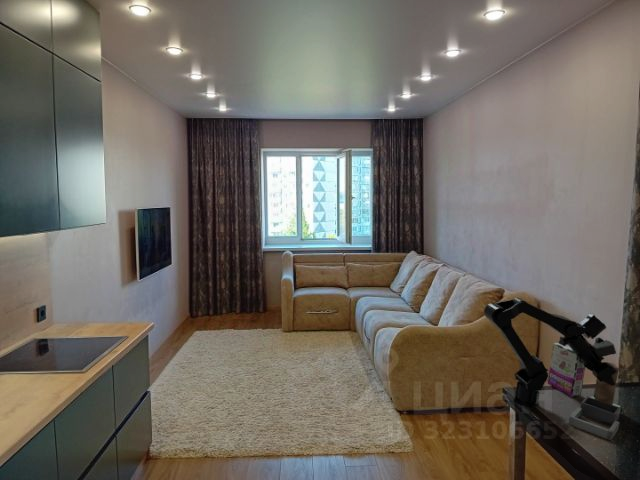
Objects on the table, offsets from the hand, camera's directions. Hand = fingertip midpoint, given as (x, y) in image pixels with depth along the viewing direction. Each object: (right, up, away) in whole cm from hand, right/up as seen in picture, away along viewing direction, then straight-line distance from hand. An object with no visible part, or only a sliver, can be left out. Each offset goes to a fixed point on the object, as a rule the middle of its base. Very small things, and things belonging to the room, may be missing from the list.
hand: (610, 381), depth 161 cm
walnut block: (-2, -7, +1) cm, 7 cm away
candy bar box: (-9, -7, +14) cm, 18 cm away
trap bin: (-7, -10, -5) cm, 13 cm away
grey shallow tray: (-13, -10, -12) cm, 21 cm away
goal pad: (-2, -9, +2) cm, 10 cm away
